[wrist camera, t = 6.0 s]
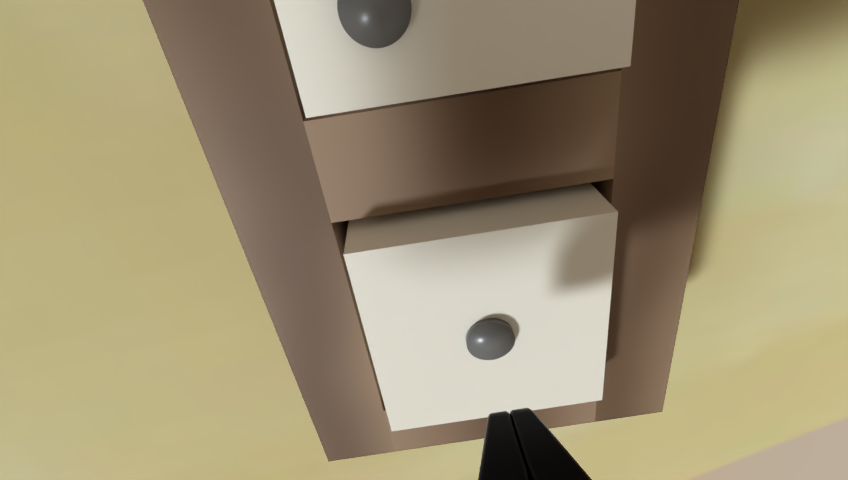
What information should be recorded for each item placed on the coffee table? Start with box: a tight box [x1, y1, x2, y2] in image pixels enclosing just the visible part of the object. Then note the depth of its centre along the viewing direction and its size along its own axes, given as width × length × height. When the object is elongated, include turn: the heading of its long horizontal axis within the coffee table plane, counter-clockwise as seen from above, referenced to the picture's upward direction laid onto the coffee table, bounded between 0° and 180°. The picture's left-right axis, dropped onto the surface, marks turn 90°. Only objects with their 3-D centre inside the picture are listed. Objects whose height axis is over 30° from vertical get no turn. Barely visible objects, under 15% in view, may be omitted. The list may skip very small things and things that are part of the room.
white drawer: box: [343, 183, 618, 431], centre depth 12 cm, size 6×6×3 cm
